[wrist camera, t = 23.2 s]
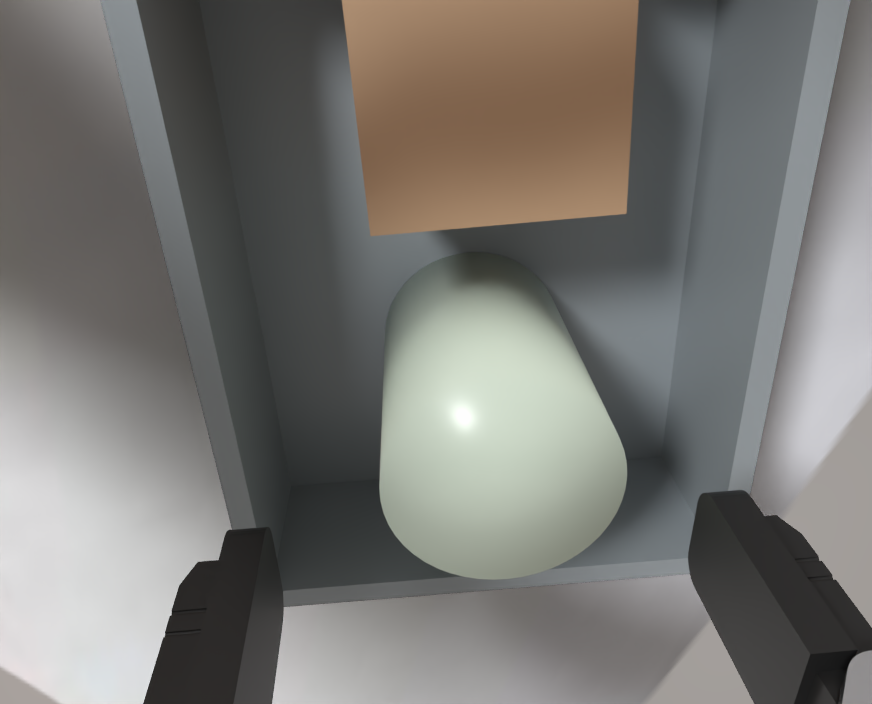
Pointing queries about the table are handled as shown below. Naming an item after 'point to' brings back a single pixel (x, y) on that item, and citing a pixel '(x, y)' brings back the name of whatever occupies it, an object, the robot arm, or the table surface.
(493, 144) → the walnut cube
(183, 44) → the tote
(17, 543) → the table surface
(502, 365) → the sage cylinder
